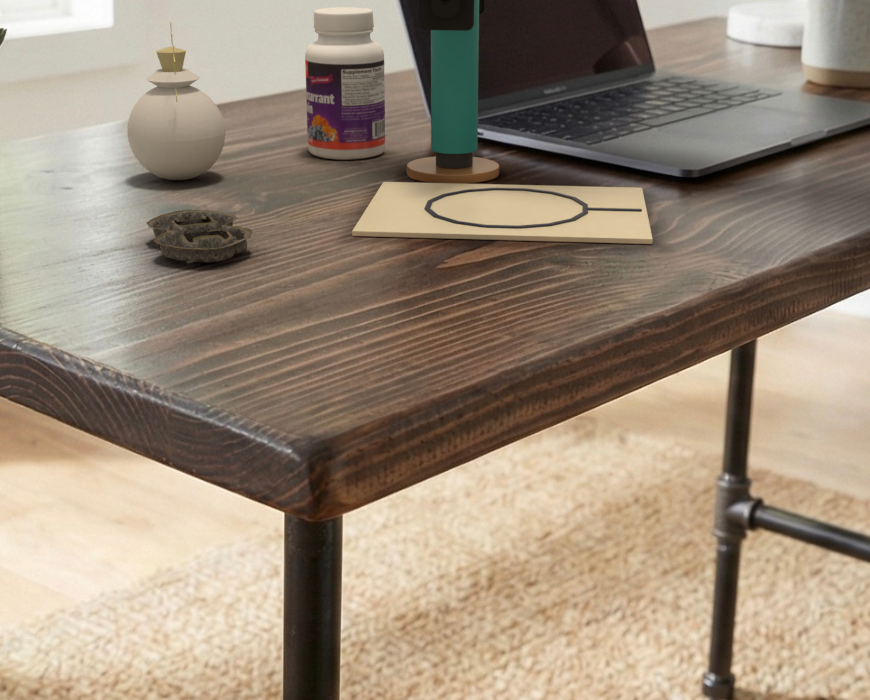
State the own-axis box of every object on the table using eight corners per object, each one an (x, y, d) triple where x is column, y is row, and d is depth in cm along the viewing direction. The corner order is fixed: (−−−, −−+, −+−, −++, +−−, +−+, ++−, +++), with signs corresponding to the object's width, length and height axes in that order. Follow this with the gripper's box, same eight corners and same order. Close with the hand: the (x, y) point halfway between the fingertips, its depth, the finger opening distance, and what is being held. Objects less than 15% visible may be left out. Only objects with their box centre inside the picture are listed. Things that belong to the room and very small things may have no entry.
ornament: (223, 167, 86) (215, 12, 83) (233, 192, 80) (224, 25, 76) (130, 171, 85) (118, 14, 82) (132, 197, 78) (118, 27, 75)
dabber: (480, 160, 86) (483, -46, 81) (477, 170, 83) (479, -43, 78) (432, 159, 86) (432, -46, 81) (427, 169, 83) (426, -43, 78)
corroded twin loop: (230, 223, 72) (229, 205, 72) (264, 261, 65) (263, 241, 64) (138, 231, 70) (137, 213, 70) (163, 271, 63) (162, 250, 63)
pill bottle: (295, 149, 92) (290, 8, 88) (363, 142, 94) (361, 4, 91) (328, 164, 87) (324, 15, 84) (398, 155, 90) (397, 11, 87)
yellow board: (641, 192, 80) (642, 185, 79) (652, 244, 68) (652, 237, 68) (383, 186, 81) (383, 179, 81) (352, 236, 70) (352, 228, 70)
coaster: (501, 165, 87) (501, 156, 87) (496, 185, 81) (496, 175, 81) (412, 163, 88) (412, 154, 87) (401, 183, 82) (401, 173, 82)
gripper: (512, -303, 67) (506, 38, 73) (525, -268, 83) (519, 8, 89) (368, -301, 68) (374, 36, 73) (409, -267, 84) (411, 7, 90)
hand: (454, 20), depth 81 cm, fingers open, 9 cm apart
